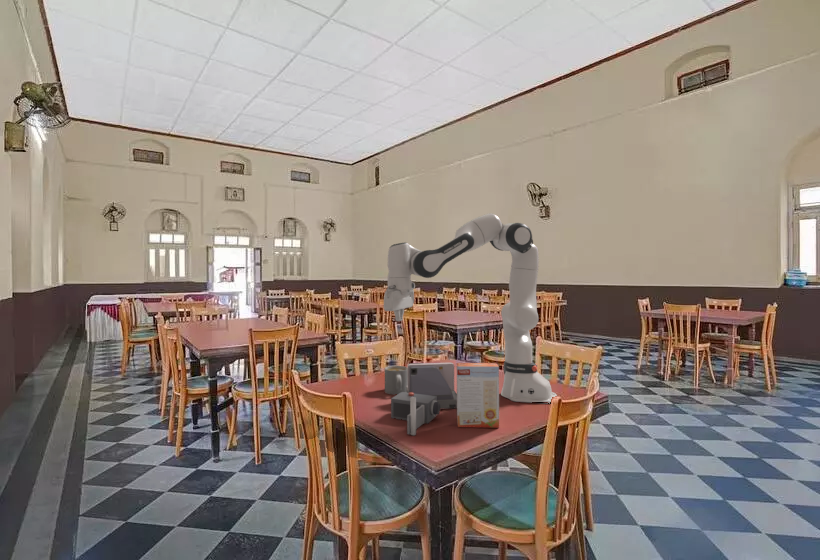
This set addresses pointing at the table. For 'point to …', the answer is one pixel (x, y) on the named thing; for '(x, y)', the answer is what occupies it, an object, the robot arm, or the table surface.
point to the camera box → (402, 405)
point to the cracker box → (478, 395)
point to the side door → (414, 417)
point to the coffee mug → (396, 379)
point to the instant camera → (433, 382)
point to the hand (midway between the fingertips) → (399, 320)
